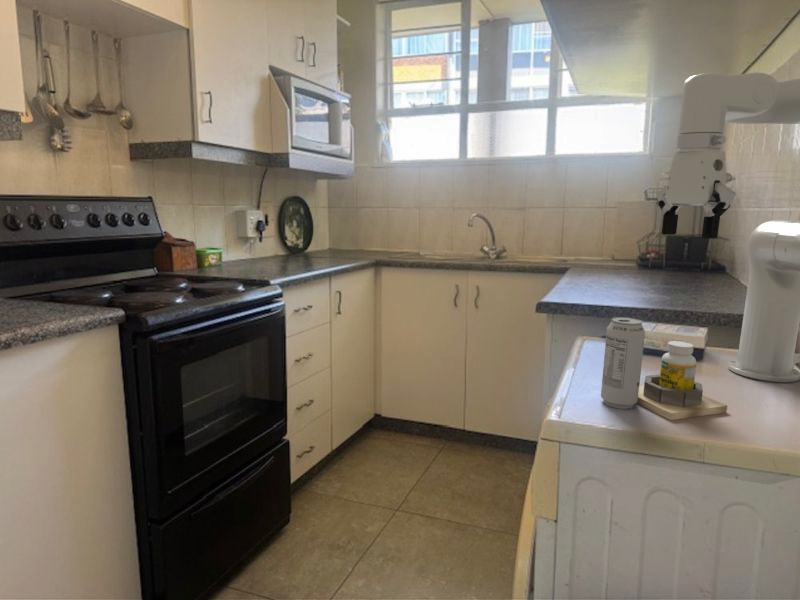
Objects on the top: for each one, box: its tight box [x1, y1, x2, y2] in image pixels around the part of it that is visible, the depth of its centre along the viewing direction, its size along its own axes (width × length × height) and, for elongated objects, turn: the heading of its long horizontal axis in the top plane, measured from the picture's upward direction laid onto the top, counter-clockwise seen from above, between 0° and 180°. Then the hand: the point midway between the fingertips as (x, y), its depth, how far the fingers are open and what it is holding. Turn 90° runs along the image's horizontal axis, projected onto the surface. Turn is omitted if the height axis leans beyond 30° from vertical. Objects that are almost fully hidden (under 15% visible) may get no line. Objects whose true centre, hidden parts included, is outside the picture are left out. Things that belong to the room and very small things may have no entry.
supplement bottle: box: [659, 340, 697, 391], centre depth 95 cm, size 5×5×10 cm
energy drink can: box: [600, 316, 646, 410], centre depth 94 cm, size 6×6×15 cm
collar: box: [636, 373, 728, 421], centre depth 96 cm, size 12×12×4 cm
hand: (688, 236), depth 105 cm, fingers open, 9 cm apart
